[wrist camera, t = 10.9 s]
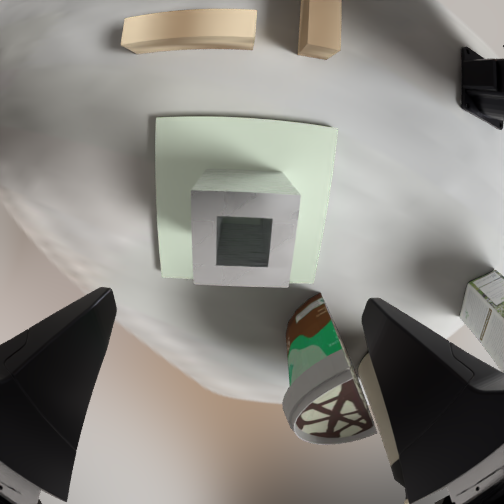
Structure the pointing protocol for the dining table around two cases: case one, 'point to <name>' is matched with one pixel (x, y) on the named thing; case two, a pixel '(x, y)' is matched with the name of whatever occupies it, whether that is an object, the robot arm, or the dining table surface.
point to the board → (240, 158)
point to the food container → (322, 381)
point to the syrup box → (486, 313)
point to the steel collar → (243, 228)
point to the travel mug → (381, 416)
